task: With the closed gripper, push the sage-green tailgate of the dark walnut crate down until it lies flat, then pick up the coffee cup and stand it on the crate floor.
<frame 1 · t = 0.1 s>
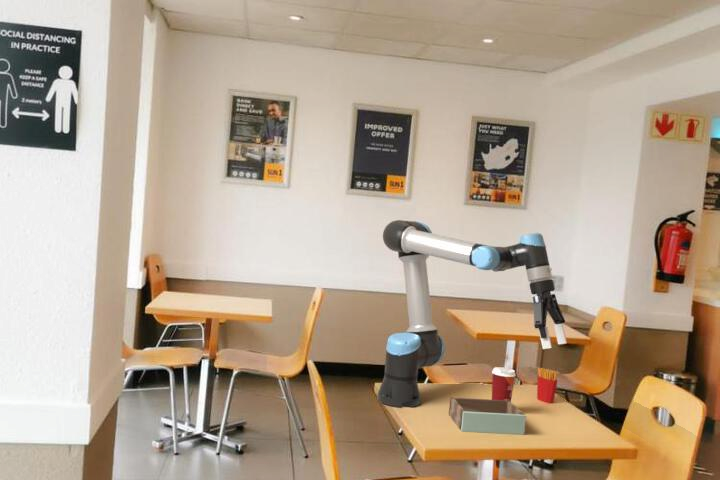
hand: (555, 346, 195), 28 cm above the table, tool tilted 20°, fingers open, 13 cm apart
coffee cup: (500, 412, 213), on the table
crate: (484, 427, 195), on the table
tailgate: (493, 422, 187), point 4 cm above the table, hinge at 0.0°
french fries: (544, 401, 233), on the table
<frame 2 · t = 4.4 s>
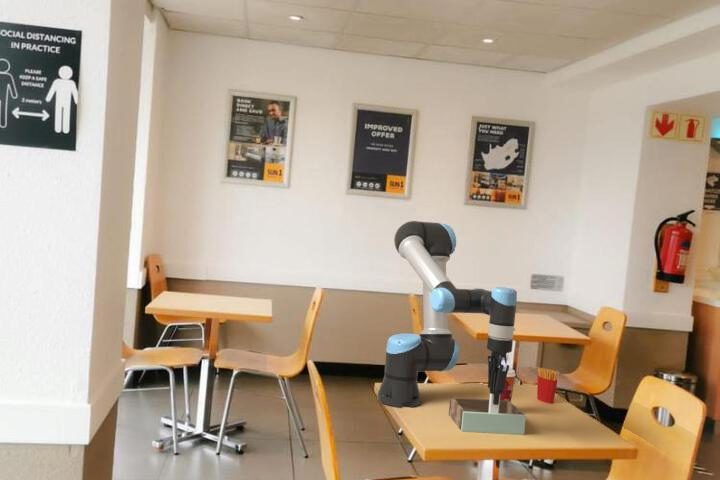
hand: (493, 413, 188), 7 cm above the table, tool pointing down, fingers closed
tailgate: (493, 422, 187), point 4 cm above the table, hinge at 0.0°, touching gripper
everything else where it was.
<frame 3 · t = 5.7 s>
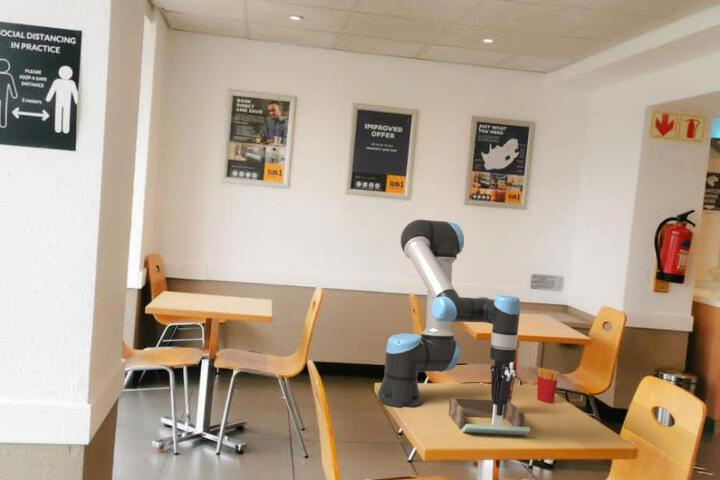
hand: (496, 425, 184), 4 cm above the table, tool pointing down, fingers closed
tailgate: (495, 430, 185), point 2 cm above the table, hinge at 52.9°, touching gripper
everything else where it was.
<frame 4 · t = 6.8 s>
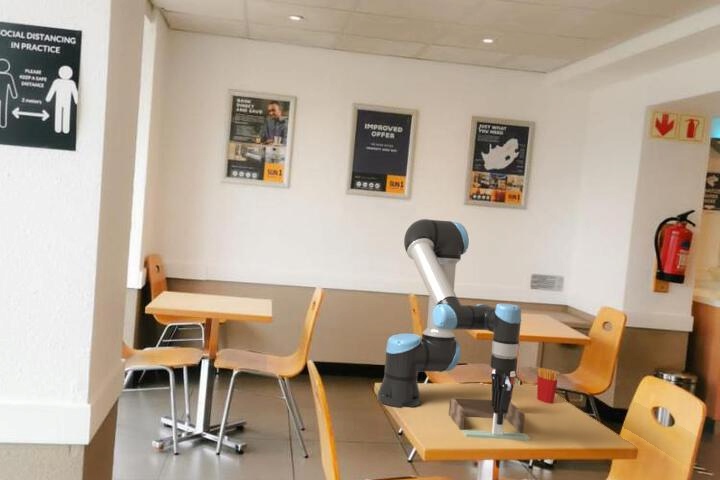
hand: (497, 433, 184), 2 cm above the table, tool pointing down, fingers closed
tailgate: (495, 435, 185), point 1 cm above the table, hinge at 82.3°, touching gripper
everything else where it was.
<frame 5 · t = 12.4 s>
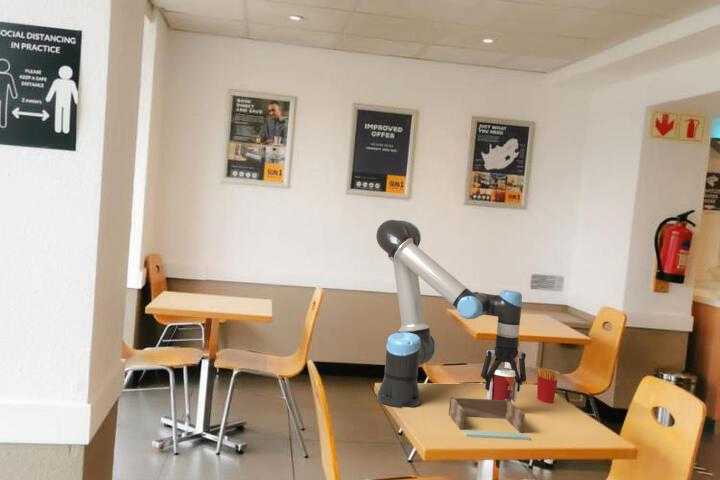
hand: (501, 399, 213), 4 cm above the table, tool pointing down, fingers closed on coffee cup, 8 cm apart
coffee cup: (500, 412, 213), on the table, touching gripper
tailgate: (495, 435, 185), point 1 cm above the table, hinge at 82.5°
everything else where it was.
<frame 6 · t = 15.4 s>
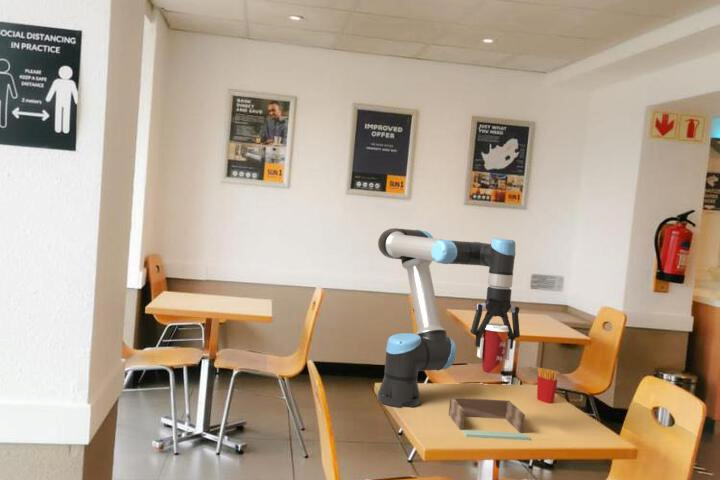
hand: (492, 357, 195), 22 cm above the table, tool pointing down, fingers closed on coffee cup, 8 cm apart
coffee cup: (491, 371, 195), point 18 cm above the table, touching gripper
everything else where it was.
when the fingers open (7 cm above the table, at t = 18.9 s): coffee cup drops 2 cm, resting on crate.
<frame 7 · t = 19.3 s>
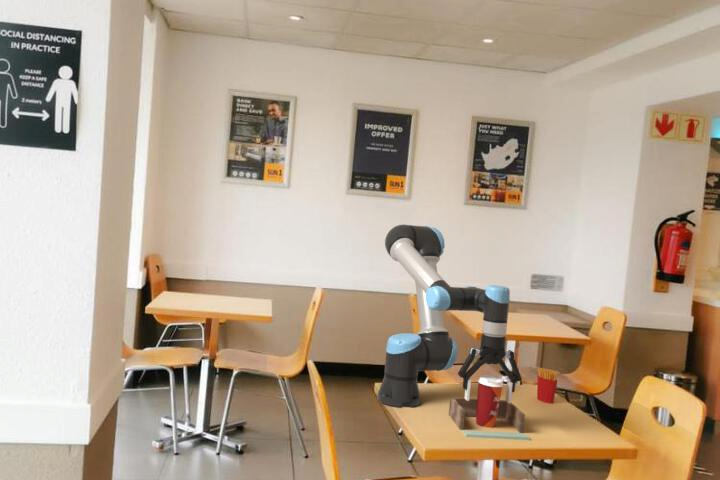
hand: (487, 400, 194), 9 cm above the table, tool pointing down, fingers open, 13 cm apart
coffee cup: (485, 424, 195), point 1 cm above the table, touching crate
everything else where it was.
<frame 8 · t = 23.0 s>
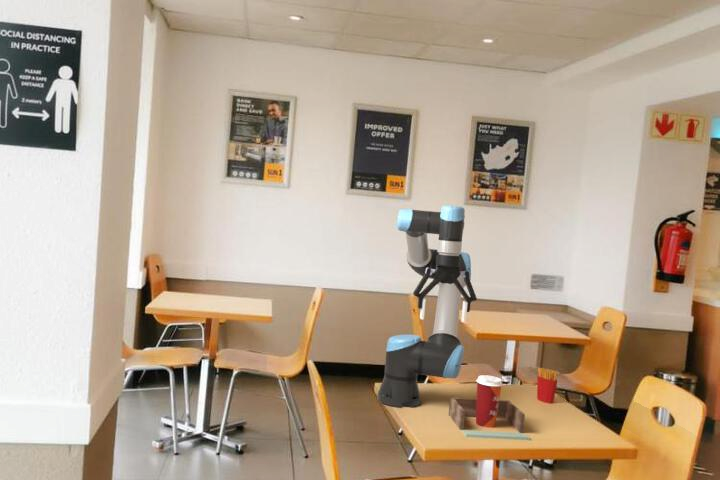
hand: (442, 320, 195), 33 cm above the table, tool pointing down, fingers open, 13 cm apart
nothing on the table moved.
at the end: tailgate at +82° (first picture: +0°); coffee cup inside the target area (0.0 cm from its centre), point 0.8 cm above the table; coffee cup tilted 0° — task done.
